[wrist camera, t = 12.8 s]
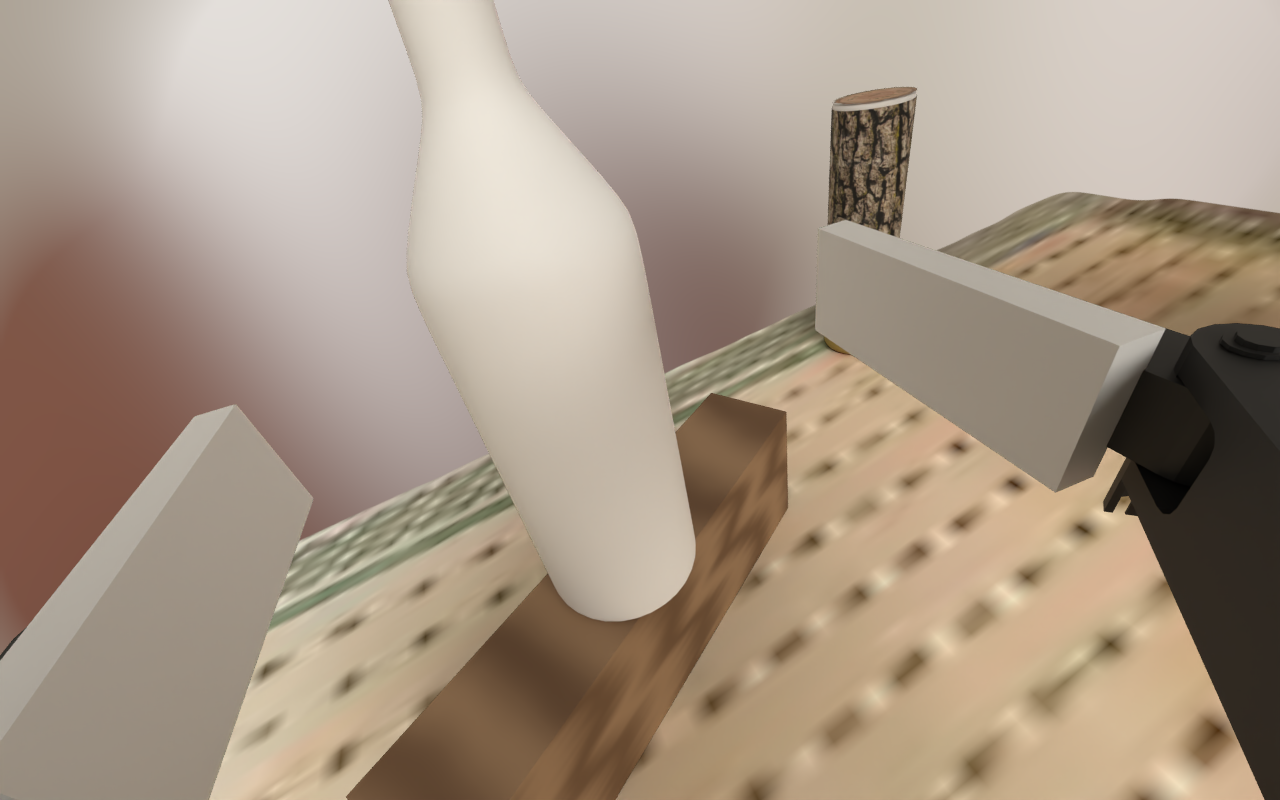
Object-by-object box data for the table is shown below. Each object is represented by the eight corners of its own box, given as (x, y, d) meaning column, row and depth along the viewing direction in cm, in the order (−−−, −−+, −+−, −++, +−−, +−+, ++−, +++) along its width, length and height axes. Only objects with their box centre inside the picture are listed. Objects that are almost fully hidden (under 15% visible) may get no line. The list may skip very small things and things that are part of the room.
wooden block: (722, 483, 44) (711, 392, 38) (787, 507, 40) (786, 411, 34) (446, 860, 26) (345, 796, 20) (520, 960, 22) (425, 917, 17)
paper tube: (900, 343, 56) (936, 86, 41) (850, 364, 54) (870, 105, 40) (857, 321, 61) (876, 87, 47) (811, 340, 60) (815, 104, 45)
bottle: (562, 507, 31) (267, -217, 14) (690, 491, 30) (546, -306, 13) (541, 631, 24) (-75, -454, 7) (704, 615, 24) (448, -670, 6)
